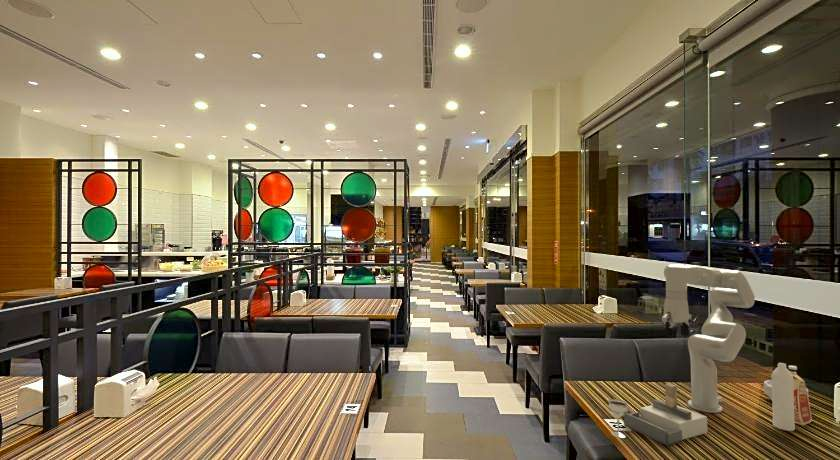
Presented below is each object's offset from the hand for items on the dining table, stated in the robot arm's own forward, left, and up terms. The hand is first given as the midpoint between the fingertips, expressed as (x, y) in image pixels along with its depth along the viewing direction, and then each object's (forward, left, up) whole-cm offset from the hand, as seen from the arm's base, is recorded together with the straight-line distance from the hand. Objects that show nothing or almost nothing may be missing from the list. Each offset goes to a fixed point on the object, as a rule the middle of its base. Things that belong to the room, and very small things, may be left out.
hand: (677, 336), depth 172 cm
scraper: (+13, +6, -27) cm, 31 cm away
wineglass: (+37, +2, -34) cm, 50 cm away
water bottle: (-28, +24, -33) cm, 50 cm away
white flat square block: (+12, +6, -33) cm, 36 cm away
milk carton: (-42, +20, -34) cm, 57 cm away
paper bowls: (-60, +9, -34) cm, 69 cm away
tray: (+24, +6, -33) cm, 41 cm away
